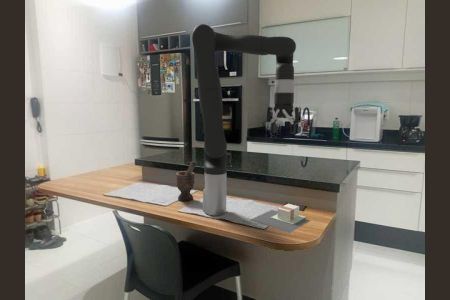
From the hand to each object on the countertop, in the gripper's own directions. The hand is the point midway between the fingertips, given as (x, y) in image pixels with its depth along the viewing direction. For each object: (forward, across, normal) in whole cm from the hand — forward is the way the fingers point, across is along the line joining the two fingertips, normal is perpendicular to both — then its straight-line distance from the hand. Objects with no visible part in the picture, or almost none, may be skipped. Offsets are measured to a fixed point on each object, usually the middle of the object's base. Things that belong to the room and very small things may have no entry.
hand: (282, 133), depth 120 cm
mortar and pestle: (+34, +43, +13) cm, 57 cm away
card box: (+33, -5, +2) cm, 34 cm away
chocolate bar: (+35, -1, -8) cm, 36 cm away
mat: (+34, -4, +6) cm, 35 cm away
